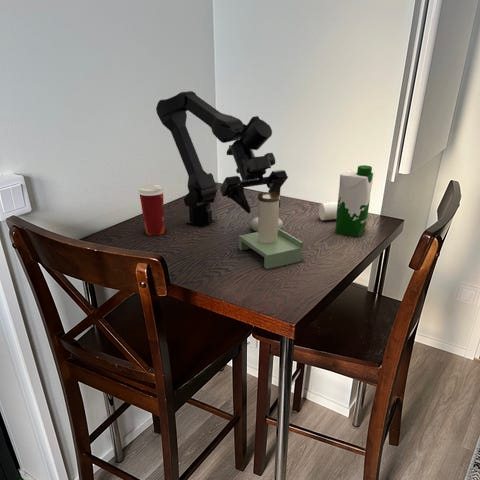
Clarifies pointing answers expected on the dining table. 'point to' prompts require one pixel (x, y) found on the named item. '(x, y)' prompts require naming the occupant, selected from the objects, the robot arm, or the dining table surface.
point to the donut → (255, 224)
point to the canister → (268, 217)
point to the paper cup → (152, 208)
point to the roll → (328, 211)
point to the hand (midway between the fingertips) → (264, 210)
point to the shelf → (274, 249)
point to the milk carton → (354, 200)
